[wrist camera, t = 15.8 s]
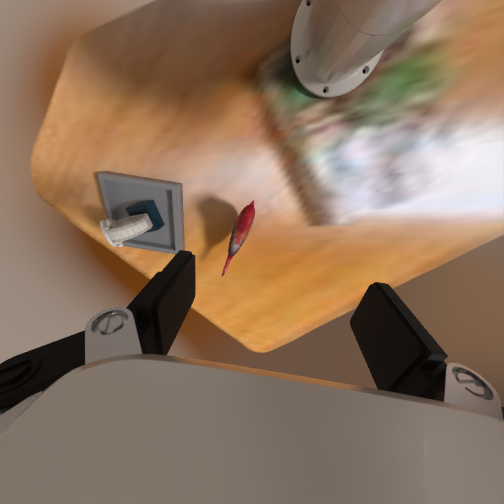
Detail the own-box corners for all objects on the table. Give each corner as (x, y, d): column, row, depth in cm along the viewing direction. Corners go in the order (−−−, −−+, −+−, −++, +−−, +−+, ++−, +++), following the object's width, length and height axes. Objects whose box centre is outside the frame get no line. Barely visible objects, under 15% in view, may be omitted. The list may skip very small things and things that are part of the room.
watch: (126, 205, 41) (82, 224, 31) (161, 197, 39) (125, 215, 30) (139, 230, 43) (102, 255, 34) (172, 223, 42) (143, 247, 32)
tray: (106, 171, 38) (97, 172, 36) (181, 183, 38) (176, 185, 36) (121, 239, 46) (113, 244, 44) (184, 249, 46) (180, 255, 44)
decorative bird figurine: (263, 192, 38) (261, 207, 29) (233, 263, 46) (224, 291, 38) (250, 186, 38) (243, 200, 29) (222, 258, 46) (210, 285, 37)
